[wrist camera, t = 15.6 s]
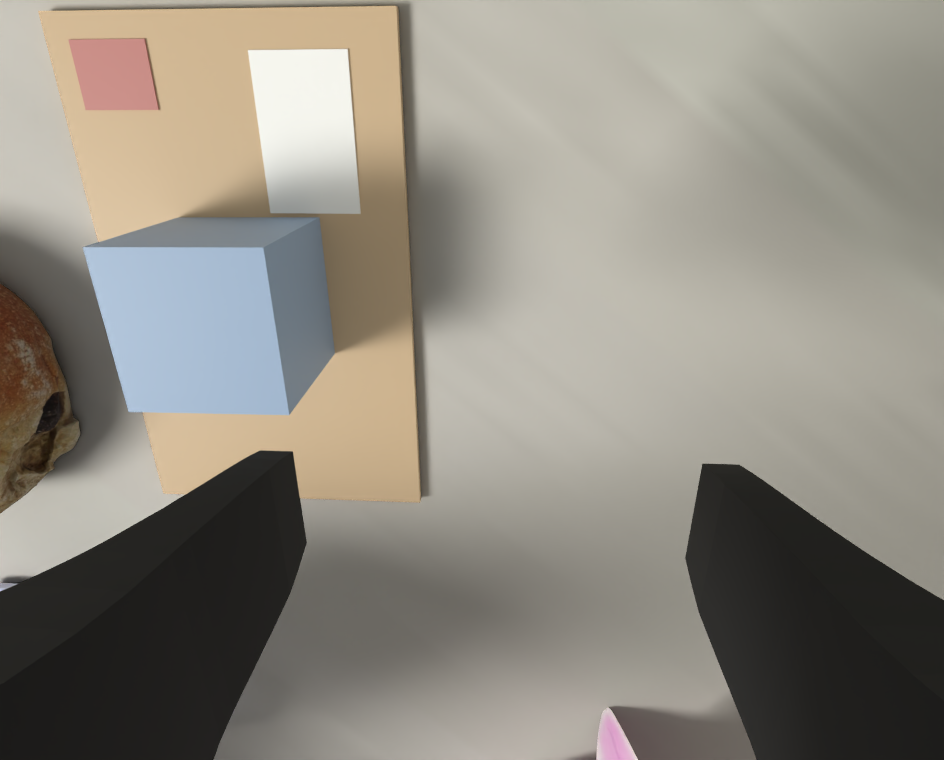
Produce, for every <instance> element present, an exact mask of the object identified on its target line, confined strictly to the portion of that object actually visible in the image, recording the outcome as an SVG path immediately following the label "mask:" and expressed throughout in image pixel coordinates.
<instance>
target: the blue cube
mask: <svg viewBox="0 0 944 760" xmlns="http://www.w3.org/2000/svg"><path fill="white" fill-rule="evenodd" d="M83 250H84V254H85V257H86V261H87V265H88V268H89V272H90V275H91V279H92V283H93V286H94V290H95V293H96V297H97V300H98V304H99V308H100V311H101V315H102V318H103V322H104V326H105V329H106V333H107V336H108V340H109V343H110V347H111V351H112V354H113V358H114V361H115V365H116V369H117V372H118V376H119V379H120V383H121V386H122V390H123V394H124V397H125V401H126V404H127V408H128V412H156V413H206V414H256V415H290V413H291V412H292V411H293V409H294V408H295V407H296V405H297V404H298V403H299V401H300V400H301V399H302V397H303V396H304V395H305V393H306V392H307V391H308V389H309V388H310V386H311V385H312V384H313V382H314V381H315V380H316V378H317V377H318V376H319V374H320V373H321V372H322V370H323V369H324V368H325V366H326V365H327V364H328V362H329V361H330V359H331V358H332V357H333V355H334V354H335V350H334V341H333V332H332V323H331V315H330V306H329V297H328V288H327V279H326V271H325V262H324V253H323V244H322V235H321V227H320V218H319V217H178V218H175V219H171V220H168V221H165V222H162V223H159V224H155V225H152V226H149V227H146V228H143V229H139V230H136V231H133V232H130V233H127V234H123V235H120V236H117V237H114V238H111V239H107V240H104V241H101V242H98V243H95V244H91V245H88V246H85V247H83Z"/></svg>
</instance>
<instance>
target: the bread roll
mask: <svg viewBox="0 0 944 760" xmlns="http://www.w3.org/2000/svg"><path fill="white" fill-rule="evenodd" d="M80 434H81V433H80V429H79V422H78V420H76V419H75V418H74V417H73V413H72V409H71V405H70V399H69V394H68V388H67V383H66V381H65V378H64V376H63V373H62V371H61V369H60V366H59V364H58V362H57V359H56V357H55V355H54V352H53V347H52V341H51V338H50V336H49V335H48V333H47V331H46V330H45V328H44V327H43V325H42V324H41V322H40V320H39V319H38V317H37V316H36V314H35V313H34V312H33V311H32V309H31V308H30V307H29V306H28V305H27V304H26V303H24V302H23V301H22V300H21V299H20V298H19V297H18V296H17V295H16V294H15V293H13V292H12V291H10V290H9V289H8V288H6V287H5V286H3V285H2V284H0V513H2V512H3V511H4V510H5V509H7V508H8V507H9V506H11V505H12V504H14V503H15V502H16V501H18V500H19V499H21V498H22V497H23V496H24V495H26V494H27V493H28V492H29V491H30V490H31V489H32V488H33V487H34V486H36V485H37V483H38V482H39V481H40V480H42V479H43V477H44V476H45V475H46V474H47V473H49V472H50V471H51V470H53V469H55V468H54V464H53V463H54V462H55V460H56V459H57V458H58V457H59V456H60V455H62V454H64V453H67V452H69V451H70V450H72V449H73V448H74V447H75V445H76V443H77V440H78V438H79V436H80Z"/></svg>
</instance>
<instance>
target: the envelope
mask: <svg viewBox="0 0 944 760" xmlns="http://www.w3.org/2000/svg"><path fill="white" fill-rule="evenodd" d="M38 12H39V16H40V20H41V24H42V28H43V32H44V36H45V39H46V43H47V47H48V51H49V55H50V59H51V62H52V66H53V70H54V74H55V78H56V82H57V86H58V89H59V93H60V97H61V101H62V105H63V109H64V113H65V116H66V120H67V124H68V128H69V132H70V136H71V139H72V143H73V147H74V151H75V155H76V159H77V163H78V166H79V170H80V174H81V178H82V182H83V186H84V189H85V193H86V197H87V201H88V205H89V209H90V213H91V216H92V220H93V224H94V228H95V232H96V236H97V240H98V242H101V241H104V240H107V239H111V238H114V237H117V236H120V235H123V234H127V233H130V232H133V231H136V230H139V229H143V228H146V227H149V226H152V225H155V224H159V223H162V222H165V221H168V220H171V219H175V218H178V217H319V218H320V227H321V235H322V244H323V253H324V262H325V271H326V279H327V288H328V297H329V306H330V315H331V323H332V332H333V341H334V350H335V354H334V355H333V357H332V358H331V359H330V361H329V362H328V364H327V365H326V366H325V368H324V369H323V370H322V372H321V373H320V374H319V376H318V377H317V378H316V380H315V381H314V382H313V384H312V385H311V386H310V388H309V389H308V391H307V392H306V393H305V395H304V396H303V397H302V399H301V400H300V401H299V403H298V404H297V405H296V407H295V408H294V409H293V411H292V412H291V413H290V415H256V414H206V413H156V412H142V413H143V417H144V420H145V424H146V428H147V432H148V436H149V440H150V443H151V447H152V451H153V455H154V459H155V463H156V467H157V470H158V474H159V478H160V482H161V486H162V490H163V493H165V494H187V493H189V492H190V491H192V490H194V489H195V488H197V487H199V486H200V485H202V484H203V483H205V482H207V481H208V480H210V479H212V478H213V477H215V476H216V475H218V474H220V473H221V472H223V471H224V470H226V469H228V468H229V467H231V466H233V465H234V464H236V463H238V462H239V461H241V460H243V459H244V458H246V457H248V456H250V455H252V454H254V453H256V452H258V451H260V450H264V451H293V456H294V462H295V469H296V476H297V482H298V489H299V496H300V498H306V499H334V500H363V501H391V502H419V503H420V500H421V485H420V463H419V442H418V420H417V398H416V377H415V355H414V334H413V312H412V291H411V269H410V248H409V226H408V205H407V183H406V162H405V140H404V119H403V97H402V76H401V54H400V33H399V11H398V7H397V6H350V7H282V8H214V9H145V10H77V11H38Z"/></svg>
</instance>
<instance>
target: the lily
mask: <svg viewBox="0 0 944 760" xmlns="http://www.w3.org/2000/svg"><path fill="white" fill-rule="evenodd" d="M596 760H638V759H637V757H636V755H635V753H634V751H633V749H632V747H631V745H630V743H629V741H628V739H627V738H626V736H625V734H624V732H623V730H622V728H621V726H620V724H619V723H618V721H617V719H616V717H615V715H614V714H613V712H612V710H611V709H609V708H608V707H607V709H605V710H604V711H603V712H602V716H601V720H600V725H599V733H598V741H597V756H596Z"/></svg>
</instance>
